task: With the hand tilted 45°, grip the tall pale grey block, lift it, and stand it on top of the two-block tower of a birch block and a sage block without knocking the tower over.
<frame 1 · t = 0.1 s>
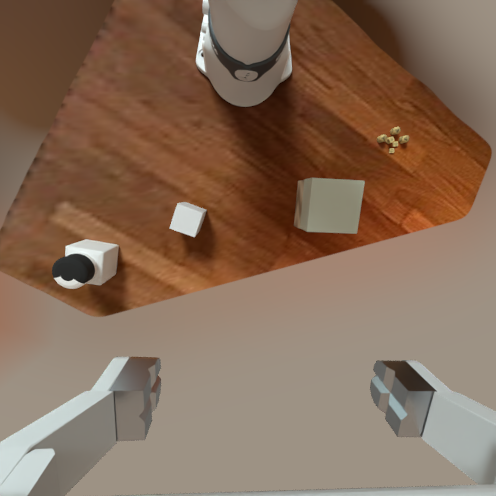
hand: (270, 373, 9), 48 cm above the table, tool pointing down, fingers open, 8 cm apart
sage block: (325, 205, 52), point 5 cm above the table, touching birch block
grey block: (192, 216, 55), on the table
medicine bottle: (102, 256, 56), on the table
beige lumpy cluster: (389, 140, 55), on the table
birch block: (316, 204, 57), on the table, touching sage block
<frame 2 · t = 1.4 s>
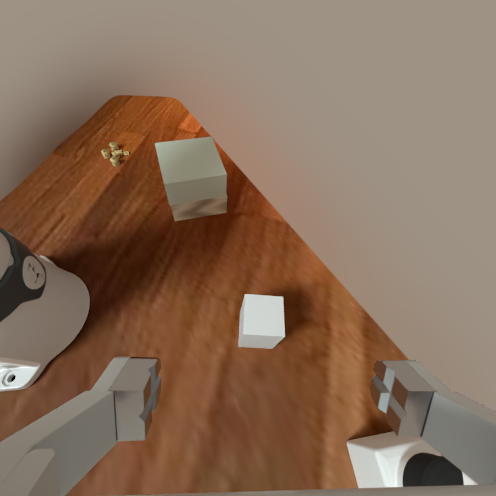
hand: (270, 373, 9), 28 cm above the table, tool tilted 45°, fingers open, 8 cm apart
sage block: (192, 180, 46), point 5 cm above the table, touching birch block
grey block: (255, 330, 37), on the table
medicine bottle: (380, 471, 30), on the table
beige lumpy cluster: (116, 159, 54), on the table
birch block: (196, 198, 50), on the table, touching sage block
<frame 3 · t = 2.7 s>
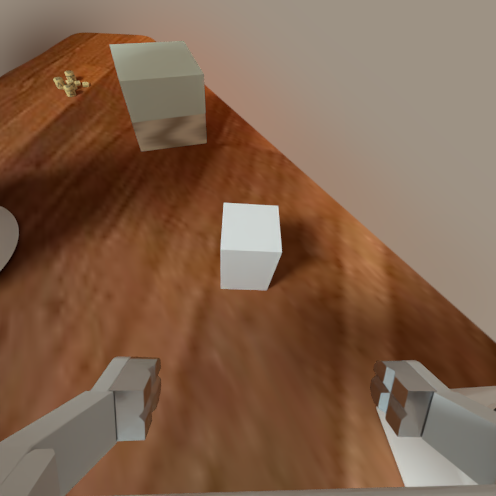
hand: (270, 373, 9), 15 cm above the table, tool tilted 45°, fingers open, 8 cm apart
sage block: (162, 98, 36), point 5 cm above the table, touching birch block
grey block: (244, 268, 28), on the table
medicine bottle: (427, 444, 21), on the table
beige lumpy cluster: (73, 91, 45), on the table
birch block: (169, 129, 41), on the table, touching sage block
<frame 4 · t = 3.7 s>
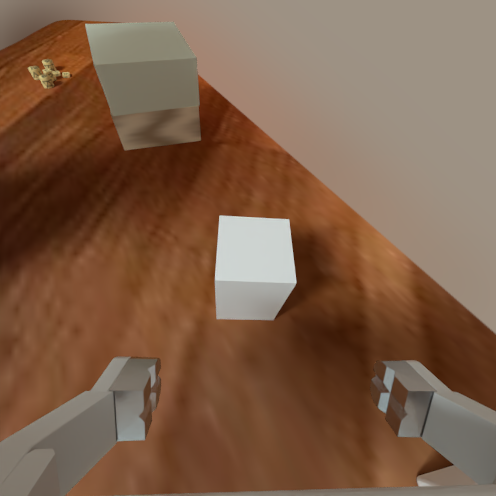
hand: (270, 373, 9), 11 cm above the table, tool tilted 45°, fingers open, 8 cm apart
sage block: (149, 89, 31), point 5 cm above the table, touching birch block
grey block: (245, 292, 23), on the table
beige lumpy cluster: (52, 83, 40), on the table
birch block: (158, 125, 36), on the table, touching sage block
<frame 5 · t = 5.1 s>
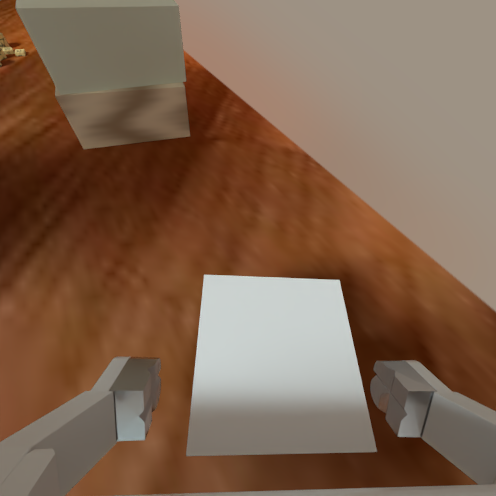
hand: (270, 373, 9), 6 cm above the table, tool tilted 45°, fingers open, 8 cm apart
sage block: (117, 60, 23), point 5 cm above the table
grey block: (250, 375, 14), on the table
beige lumpy cluster: (3, 62, 31), on the table
birch block: (134, 116, 27), on the table
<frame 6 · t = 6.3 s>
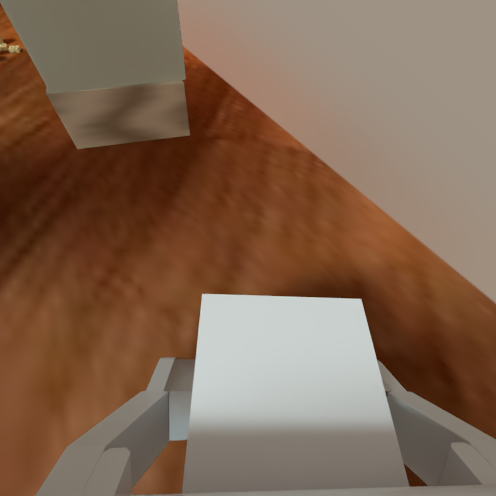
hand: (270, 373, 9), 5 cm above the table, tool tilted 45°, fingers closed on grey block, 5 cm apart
sage block: (113, 57, 22), point 5 cm above the table, touching birch block
grey block: (255, 396, 13), on the table, touching gripper
birch block: (132, 115, 26), on the table, touching sage block
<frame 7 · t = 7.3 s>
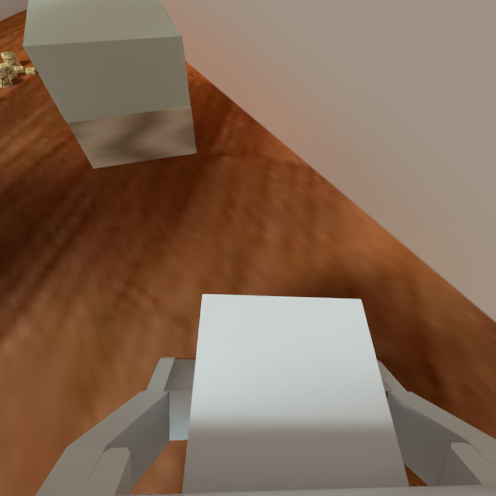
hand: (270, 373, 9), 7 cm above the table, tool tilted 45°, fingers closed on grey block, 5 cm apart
sage block: (124, 85, 23), point 5 cm above the table, touching birch block
grey block: (255, 396, 13), point 2 cm above the table, touching gripper
beige lumpy cluster: (14, 81, 32), on the table
birch block: (142, 133, 28), on the table, touching sage block
when the fingers open (16 cm above the table, at t = 13.9 s): grey block drops 1 cm, point 10 cm above the table.
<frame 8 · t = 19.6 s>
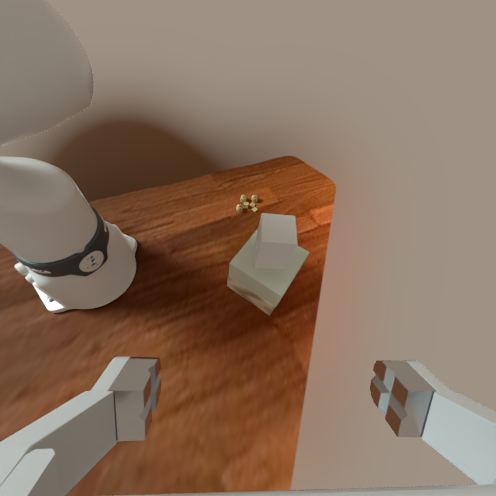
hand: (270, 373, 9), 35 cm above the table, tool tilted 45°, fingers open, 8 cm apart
sage block: (266, 270, 46), point 5 cm above the table, touching birch block
grey block: (269, 255, 42), point 10 cm above the table
beige lumpy cluster: (247, 206, 62), on the table
birch block: (261, 282, 50), on the table, touching sage block
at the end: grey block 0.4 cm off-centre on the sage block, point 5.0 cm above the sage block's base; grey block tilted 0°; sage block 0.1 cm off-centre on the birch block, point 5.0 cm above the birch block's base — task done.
